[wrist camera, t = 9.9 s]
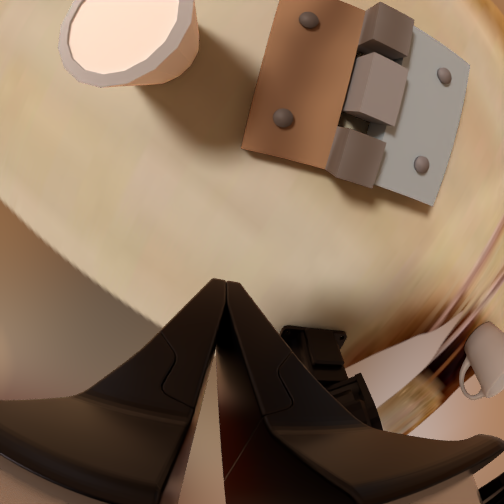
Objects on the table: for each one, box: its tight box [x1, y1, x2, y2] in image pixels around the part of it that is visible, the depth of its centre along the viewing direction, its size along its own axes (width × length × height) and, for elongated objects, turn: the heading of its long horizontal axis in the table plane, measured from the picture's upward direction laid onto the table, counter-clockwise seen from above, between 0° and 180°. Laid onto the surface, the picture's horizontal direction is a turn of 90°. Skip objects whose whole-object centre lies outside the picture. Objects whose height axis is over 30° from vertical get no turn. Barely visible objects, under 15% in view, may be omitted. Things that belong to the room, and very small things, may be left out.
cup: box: [459, 322, 504, 400], centre depth 26 cm, size 8×10×8 cm
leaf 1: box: [241, 0, 414, 188], centre depth 14 cm, size 8×12×4 cm, turn 167°
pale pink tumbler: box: [58, 0, 199, 88], centre depth 11 cm, size 7×7×7 cm
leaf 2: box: [342, 25, 470, 206], centre depth 15 cm, size 8×12×4 cm
